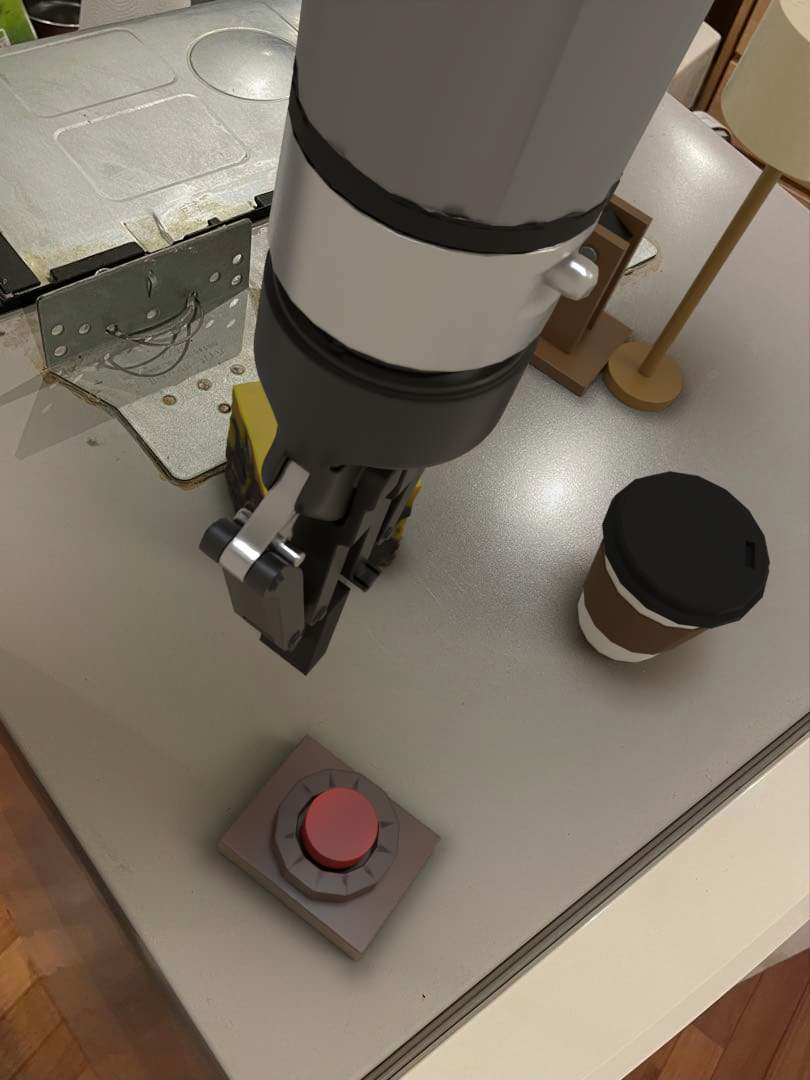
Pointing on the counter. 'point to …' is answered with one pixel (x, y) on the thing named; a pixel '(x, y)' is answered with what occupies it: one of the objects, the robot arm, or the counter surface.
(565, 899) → the counter surface
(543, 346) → the lever bracket
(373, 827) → the button
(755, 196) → the lamp
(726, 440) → the counter surface
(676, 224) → the counter surface
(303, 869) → the switch block
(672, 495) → the coffee cup
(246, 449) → the candle
